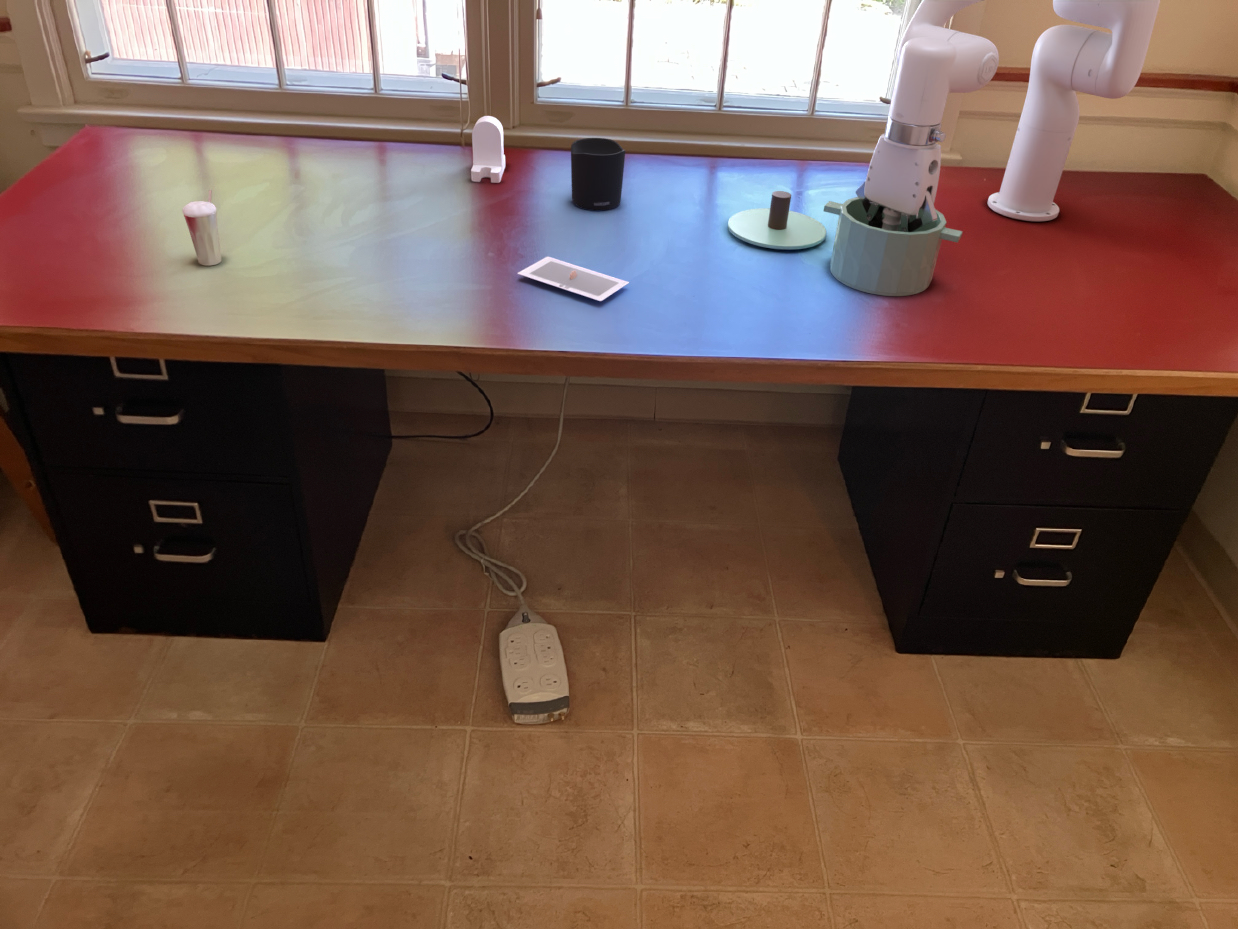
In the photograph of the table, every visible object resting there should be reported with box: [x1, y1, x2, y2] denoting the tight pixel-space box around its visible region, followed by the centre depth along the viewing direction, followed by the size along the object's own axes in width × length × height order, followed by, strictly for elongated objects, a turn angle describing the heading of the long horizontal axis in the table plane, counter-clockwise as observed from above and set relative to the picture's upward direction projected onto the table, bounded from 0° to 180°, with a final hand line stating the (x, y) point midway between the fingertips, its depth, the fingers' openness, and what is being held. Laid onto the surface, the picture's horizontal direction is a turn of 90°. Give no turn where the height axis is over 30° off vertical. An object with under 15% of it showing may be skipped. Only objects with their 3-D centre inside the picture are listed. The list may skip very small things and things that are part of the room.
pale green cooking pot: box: [823, 196, 963, 297], centre depth 151 cm, size 16×21×10 cm
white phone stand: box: [470, 115, 506, 184], centre depth 179 cm, size 5×10×10 cm, turn 179°
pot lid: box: [727, 190, 827, 250], centre depth 163 cm, size 17×17×7 cm
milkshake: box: [181, 189, 222, 267], centre depth 143 cm, size 4×5×10 cm
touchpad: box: [516, 255, 630, 302], centre depth 145 cm, size 8×15×2 cm, turn 58°
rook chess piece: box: [882, 207, 901, 231], centre depth 149 cm, size 4×4×8 cm
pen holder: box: [570, 137, 626, 212], centre depth 170 cm, size 9×9×10 cm
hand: (885, 248), depth 151 cm, fingers closed on rook chess piece, 4 cm apart
